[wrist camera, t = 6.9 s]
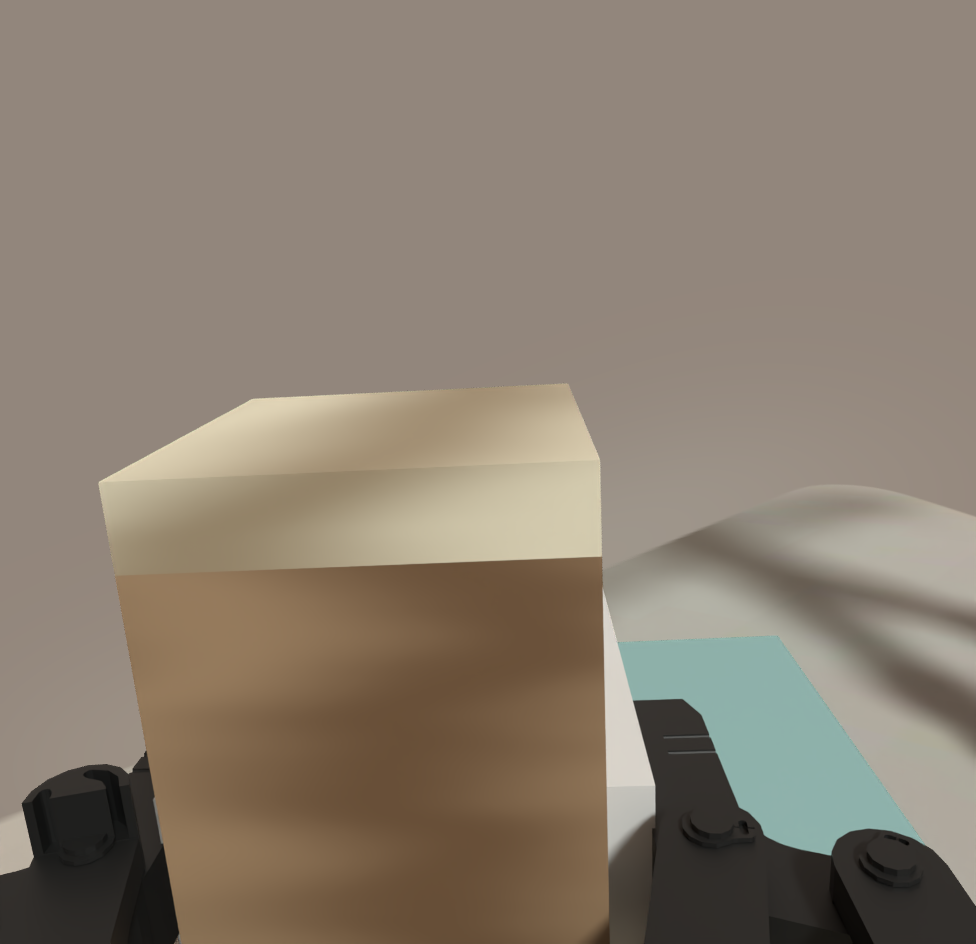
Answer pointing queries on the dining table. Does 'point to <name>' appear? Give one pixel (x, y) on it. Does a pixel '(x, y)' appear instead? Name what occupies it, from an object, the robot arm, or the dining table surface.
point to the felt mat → (769, 736)
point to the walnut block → (374, 667)
